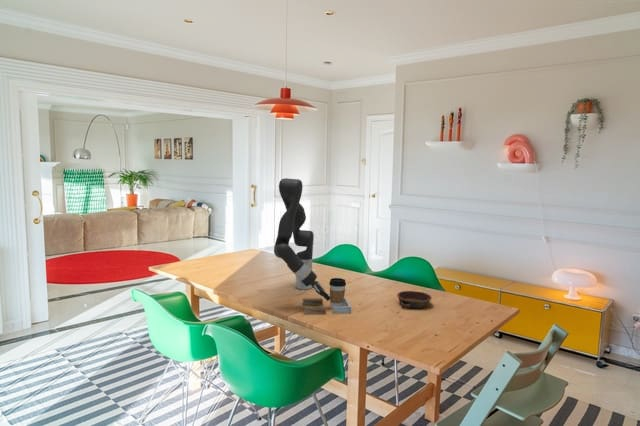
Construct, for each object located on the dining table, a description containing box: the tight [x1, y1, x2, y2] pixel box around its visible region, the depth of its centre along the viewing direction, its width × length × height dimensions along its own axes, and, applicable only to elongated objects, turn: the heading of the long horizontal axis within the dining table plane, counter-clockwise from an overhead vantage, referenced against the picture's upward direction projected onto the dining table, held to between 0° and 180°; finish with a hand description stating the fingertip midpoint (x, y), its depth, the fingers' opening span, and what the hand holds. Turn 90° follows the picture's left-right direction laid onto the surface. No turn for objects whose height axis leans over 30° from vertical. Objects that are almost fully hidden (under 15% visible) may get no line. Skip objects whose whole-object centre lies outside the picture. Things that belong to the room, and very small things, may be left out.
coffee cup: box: [328, 277, 347, 311], centre depth 218 cm, size 8×8×15 cm
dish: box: [396, 290, 432, 309], centre depth 229 cm, size 18×22×5 cm
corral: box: [329, 297, 352, 314], centre depth 219 cm, size 14×8×3 cm, turn 5°
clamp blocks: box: [302, 297, 327, 315], centre depth 218 cm, size 17×10×2 cm, turn 5°
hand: (329, 299), depth 218 cm, fingers closed
